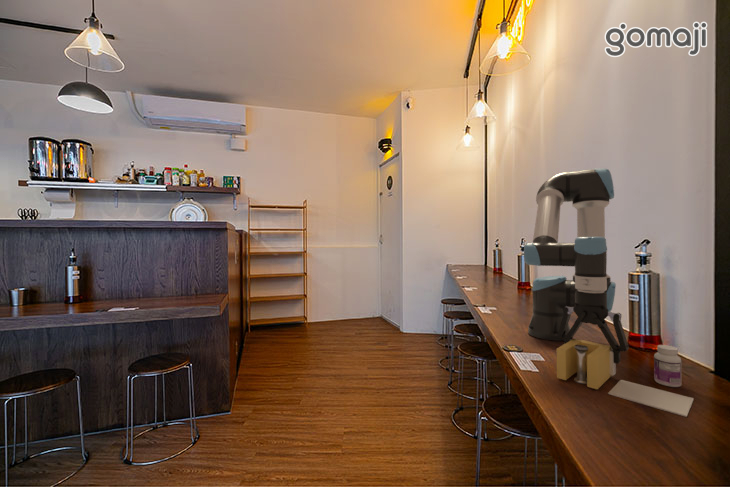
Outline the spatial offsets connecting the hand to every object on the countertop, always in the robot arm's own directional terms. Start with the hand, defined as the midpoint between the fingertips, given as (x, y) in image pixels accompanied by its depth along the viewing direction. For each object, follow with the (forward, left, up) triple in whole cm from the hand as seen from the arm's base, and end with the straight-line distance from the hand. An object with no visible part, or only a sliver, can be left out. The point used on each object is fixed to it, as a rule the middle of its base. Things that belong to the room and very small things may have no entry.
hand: (591, 368), depth 94 cm
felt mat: (+6, +14, -1) cm, 15 cm away
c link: (+5, 0, -1) cm, 5 cm away
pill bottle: (-7, +15, -1) cm, 17 cm away
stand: (+8, 0, -1) cm, 8 cm away
